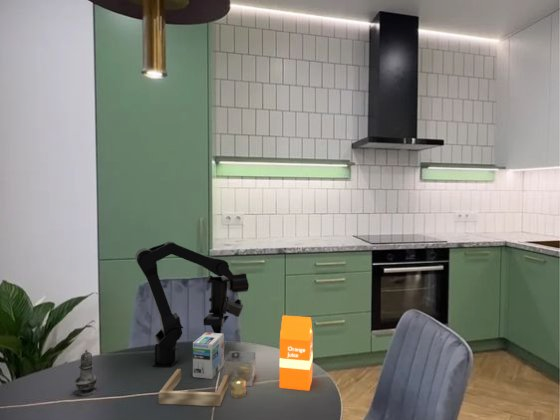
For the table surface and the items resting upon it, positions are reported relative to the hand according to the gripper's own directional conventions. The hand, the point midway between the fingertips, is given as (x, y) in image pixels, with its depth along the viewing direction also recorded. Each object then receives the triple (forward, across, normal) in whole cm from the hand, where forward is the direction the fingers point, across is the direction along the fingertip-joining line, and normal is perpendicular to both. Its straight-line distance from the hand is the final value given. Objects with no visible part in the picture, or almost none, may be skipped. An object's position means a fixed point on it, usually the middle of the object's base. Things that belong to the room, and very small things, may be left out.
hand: (218, 338), depth 135 cm
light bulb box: (+6, -14, 0) cm, 15 cm away
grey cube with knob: (+6, -19, -11) cm, 23 cm away
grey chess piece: (+6, -30, +31) cm, 43 cm away
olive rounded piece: (+6, -28, -12) cm, 31 cm away
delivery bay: (+6, -27, 0) cm, 28 cm away
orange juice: (+6, -20, -28) cm, 35 cm away
